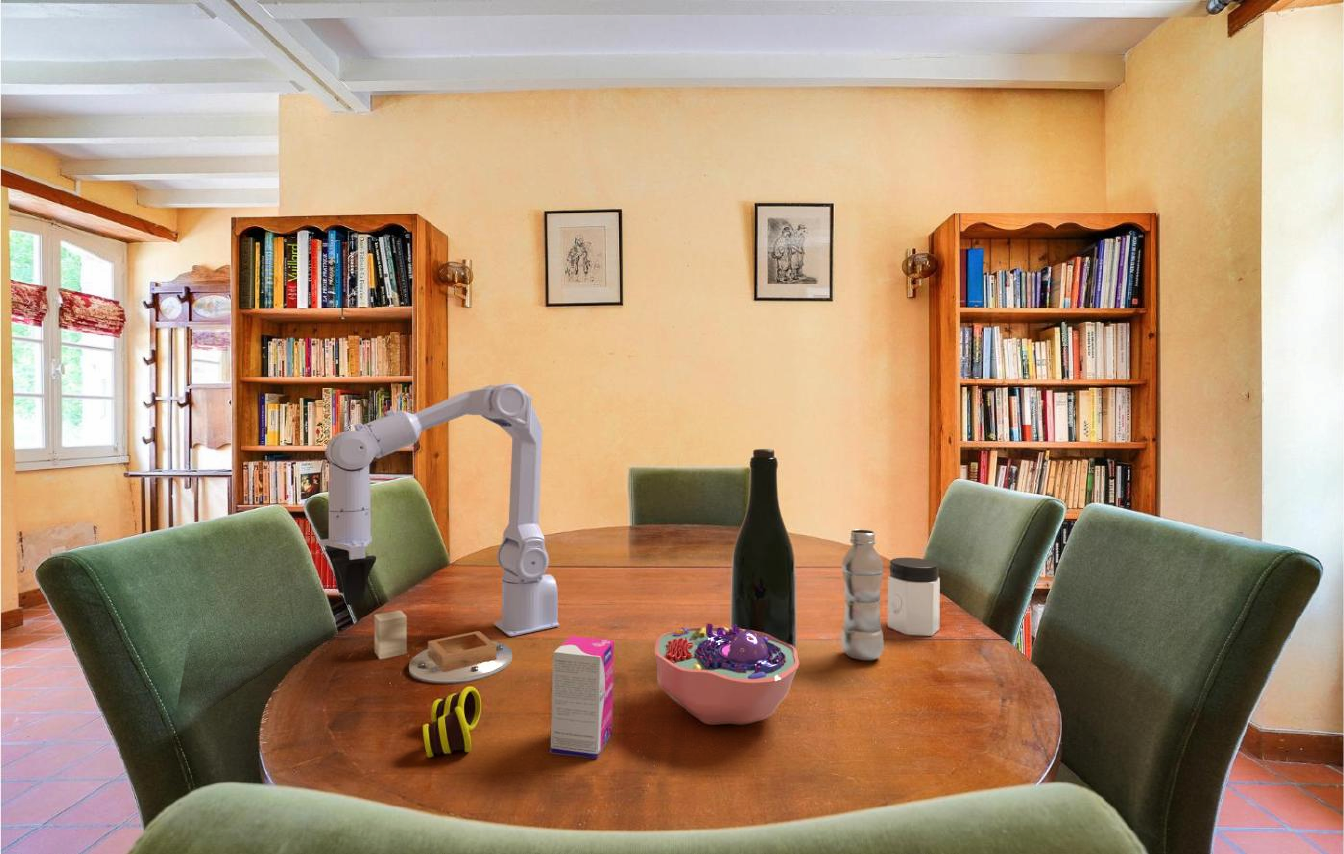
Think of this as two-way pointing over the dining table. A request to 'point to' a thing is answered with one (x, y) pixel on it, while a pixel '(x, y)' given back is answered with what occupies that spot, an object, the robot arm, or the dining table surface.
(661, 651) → the cell model
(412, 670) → the tray on oval base
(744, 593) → the wine bottle
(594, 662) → the supplement box
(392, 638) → the beige wooden block
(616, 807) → the dining table surface
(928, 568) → the jar
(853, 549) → the plastic bottle
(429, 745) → the opera glasses
